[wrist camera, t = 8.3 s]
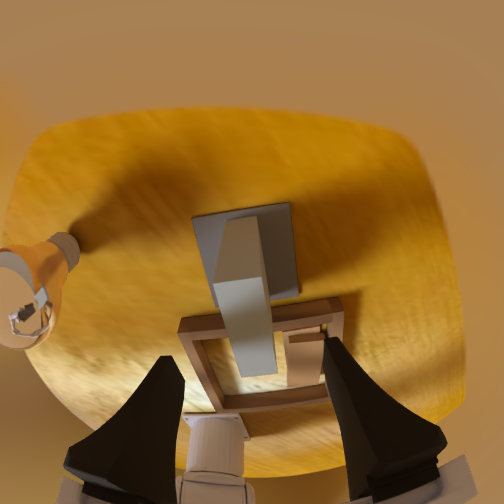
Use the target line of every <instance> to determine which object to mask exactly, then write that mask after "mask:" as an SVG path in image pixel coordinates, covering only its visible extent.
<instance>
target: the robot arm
mask: <svg viewBox="0 0 504 504" xmlns="http://www.w3.org/2000/svg"><path fill="white" fill-rule="evenodd" d="M323 368H324V373H325V379H326V383H327V387H328V390H329V394H330V397H331V400H332V403H333V406H334V409H335V413H336V416H337V419H338V422H339V426H340V430H341V436H342V441H343V447H344V454H345V460H346V468H347V475H348V485H349V497H350V502H347V503H342V504H464V503H466V502H467V501H469V500H470V499H472V498H474V497H475V496H477V494H478V492H477V489H476V486H475V482H474V480H473V477H472V474H471V471H470V468H469V465H468V463H467V460H466V457H465V455H461V456H460V457H458V458H456V459H454V460H452V461H450V462H449V463H446V464H444V465H443V466H441V467H439V468H437V465H436V464H437V463H438V459H437V455H438V454H439V453H440V452H441V451H442V450H443V449H444V448H445V447H446V446H447V440H446V438H445V435H444V434H443V432H442V430H441V429H440V427H439V426H437V425H435V424H433V423H431V422H429V421H427V420H425V419H423V418H421V417H420V416H418V415H416V414H415V413H413V412H411V411H410V410H409V409H407V408H406V407H404V406H403V405H401V404H400V403H398V402H397V401H396V400H395V399H393V398H392V397H391V396H390V395H388V394H387V393H386V392H385V391H384V390H383V389H382V388H380V387H379V386H378V385H377V384H376V383H375V382H374V381H373V380H372V379H371V378H370V377H369V376H368V374H367V373H366V372H365V371H364V370H363V369H362V368H361V367H360V365H359V364H358V363H357V362H356V361H355V359H354V358H353V357H352V356H351V354H350V353H349V352H348V350H347V349H346V348H345V346H344V345H343V343H342V342H341V340H340V339H339V337H337V336H335V337H330V338H325V339H324V351H323ZM184 391H185V380H184V378H183V376H182V374H181V372H180V370H179V369H178V367H177V365H176V363H175V361H174V359H173V357H172V356H160V357H159V358H158V360H157V361H156V363H155V364H154V365H153V367H152V368H151V370H150V371H149V373H148V374H147V375H146V377H145V378H144V380H143V381H142V382H141V384H140V385H139V386H138V388H137V389H136V390H135V392H134V393H133V394H132V395H131V397H130V398H129V399H128V400H127V402H126V403H125V404H124V405H123V406H122V407H121V408H120V409H119V410H118V411H117V413H116V414H115V415H114V416H112V417H111V418H110V419H109V420H108V421H107V422H106V423H105V424H103V425H102V426H101V427H100V428H99V429H97V430H96V431H95V432H93V433H92V434H91V435H89V436H88V437H86V438H85V439H83V440H81V441H80V442H78V443H76V444H74V445H73V446H71V447H69V449H68V452H67V455H66V458H65V461H64V465H63V466H64V468H65V469H66V470H67V471H69V472H70V473H72V474H73V475H75V476H77V477H78V478H80V479H82V480H83V481H84V485H82V484H80V483H78V482H75V481H73V480H71V479H68V478H65V477H63V478H62V482H61V485H60V489H59V493H58V496H57V501H56V504H255V493H254V489H253V487H252V486H251V485H250V484H249V483H245V478H243V477H242V475H243V473H244V441H250V436H249V434H248V432H247V429H246V427H245V425H244V423H243V420H242V418H241V416H240V414H239V413H224V414H217V413H216V414H182V418H183V419H184V420H185V422H186V423H187V424H188V425H189V427H190V428H191V433H190V441H189V449H188V457H187V465H186V472H184V478H183V477H182V476H178V478H176V479H175V453H176V439H177V432H178V427H179V422H180V417H181V412H182V406H183V401H184Z"/></svg>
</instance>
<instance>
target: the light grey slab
mask: <svg viewBox="0 0 504 504" xmlns="http://www.w3.org/2000/svg"><path fill="white" fill-rule="evenodd" d="M213 286H214V290H215V293H216V297H217V300H218V304H219V307H220V311H221V314H222V317H223V321H224V324H225V327H226V331H227V334H228V337H229V341H230V344H231V347H232V350H233V353H234V356H235V360H236V363H237V366H238V369H239V372H240V375H241V377H252V376H261V375H270V374H277V373H278V372H277V363H276V353H275V343H274V333H273V324H272V315H271V305H270V296H269V290H268V284H267V277H266V271H265V265H264V258H263V252H262V246H261V240H260V234H259V228H258V222H257V216H251V217H245V218H238V219H232V220H226V221H225V226H224V231H223V235H222V240H221V245H220V250H219V255H218V260H217V265H216V270H215V275H214V280H213Z"/></svg>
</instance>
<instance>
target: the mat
mask: <svg viewBox="0 0 504 504" xmlns="http://www.w3.org/2000/svg"><path fill="white" fill-rule="evenodd" d="M251 216H257V222H258V228H259V234H260V240H261V246H262V252H263V258H264V265H265V271H266V277H267V284H268V290H269V296H270V301H271V300H277V299H284V298H291V297H297V296H299V293H298V281H297V270H296V259H295V249H294V239H293V230H292V221H291V212H290V203H289V202H285V203H278V204H272V205H265V206H258V207H252V208H245V209H239V210H233V211H227V212H221V213H215V214H209V215H204V216H198V217H193V218H192V223H193V227H194V231H195V235H196V239H197V243H198V246H199V250H200V254H201V258H202V261H203V265H204V268H205V272H206V275H207V279H208V283H209V286H210V289H211V293H212V296H213V300H214V303H215V306H216V308H217V307H219V304H218V300H217V297H216V293H215V290H214V286H213V280H214V275H215V270H216V265H217V260H218V255H219V250H220V245H221V240H222V235H223V231H224V226H225V221H226V220H232V219H238V218H245V217H251Z"/></svg>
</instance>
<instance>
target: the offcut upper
mask: <svg viewBox="0 0 504 504" xmlns="http://www.w3.org/2000/svg"><path fill="white" fill-rule="evenodd" d="M324 339H325V335H324V333H317V334H306V335H294V336H288V363H287V387H299V386H309V385H318V384H319V378H320V373H321V367H322V361H323V351H324Z"/></svg>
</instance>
